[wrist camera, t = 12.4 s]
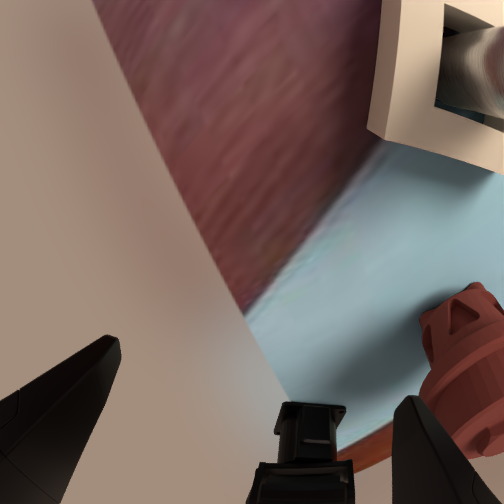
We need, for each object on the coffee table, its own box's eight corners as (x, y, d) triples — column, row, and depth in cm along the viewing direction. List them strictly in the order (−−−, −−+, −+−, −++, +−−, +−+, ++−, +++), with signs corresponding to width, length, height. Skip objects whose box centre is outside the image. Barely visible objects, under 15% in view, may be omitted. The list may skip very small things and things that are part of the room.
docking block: (499, 167, 16) (532, 186, 13) (366, 128, 17) (384, 139, 13) (518, 32, 11) (553, 30, 8) (383, -25, 12) (402, -47, 8)
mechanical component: (486, 346, 23) (392, 363, 25) (515, 253, 19) (405, 265, 21) (531, 453, 13) (415, 491, 15) (600, 363, 8) (467, 414, 10)
